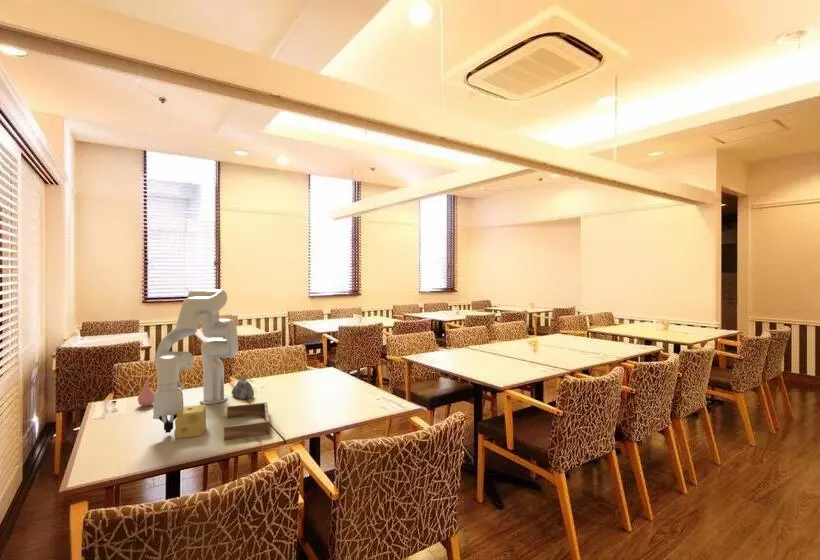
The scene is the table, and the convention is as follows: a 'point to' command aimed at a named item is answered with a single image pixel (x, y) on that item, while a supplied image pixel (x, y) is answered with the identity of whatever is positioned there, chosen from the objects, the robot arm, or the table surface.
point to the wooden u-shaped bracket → (250, 428)
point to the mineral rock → (243, 389)
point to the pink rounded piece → (146, 395)
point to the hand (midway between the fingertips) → (168, 431)
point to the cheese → (190, 421)
